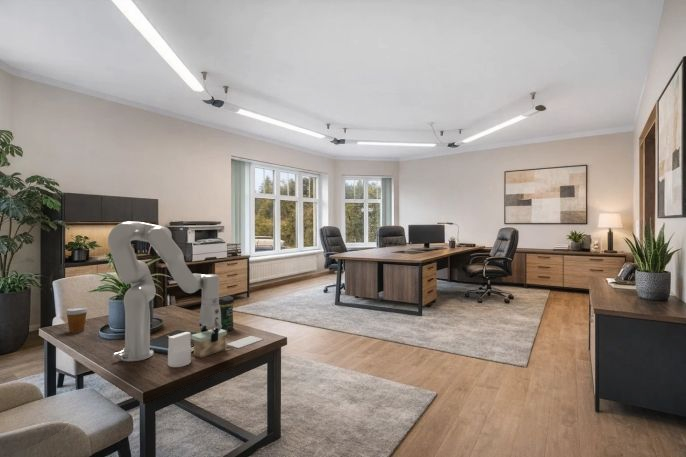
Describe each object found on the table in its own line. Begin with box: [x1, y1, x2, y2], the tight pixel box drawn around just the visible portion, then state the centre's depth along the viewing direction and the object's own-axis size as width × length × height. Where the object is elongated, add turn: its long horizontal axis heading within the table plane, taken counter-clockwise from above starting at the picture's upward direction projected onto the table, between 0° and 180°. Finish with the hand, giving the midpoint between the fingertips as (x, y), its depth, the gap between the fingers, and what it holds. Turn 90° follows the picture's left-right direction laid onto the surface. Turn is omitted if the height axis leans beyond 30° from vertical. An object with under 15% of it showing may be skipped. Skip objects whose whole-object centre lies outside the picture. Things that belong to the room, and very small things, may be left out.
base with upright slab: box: [167, 331, 192, 368], centre depth 152 cm, size 9×9×12 cm
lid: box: [191, 328, 228, 342], centre depth 164 cm, size 14×7×2 cm, turn 146°
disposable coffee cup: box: [65, 306, 88, 333], centre depth 191 cm, size 10×10×12 cm
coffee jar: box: [214, 295, 235, 332], centre depth 199 cm, size 10×8×19 cm
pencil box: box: [193, 335, 226, 358], centre depth 165 cm, size 13×5×7 cm, turn 146°
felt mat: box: [225, 335, 264, 350], centre depth 179 cm, size 16×9×1 cm, turn 146°
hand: (209, 339), depth 164 cm, fingers closed on lid, 7 cm apart
